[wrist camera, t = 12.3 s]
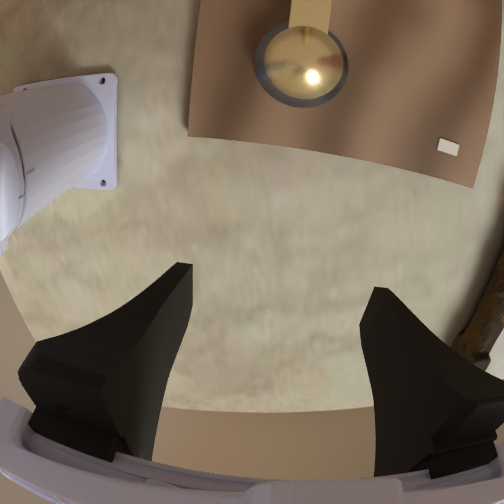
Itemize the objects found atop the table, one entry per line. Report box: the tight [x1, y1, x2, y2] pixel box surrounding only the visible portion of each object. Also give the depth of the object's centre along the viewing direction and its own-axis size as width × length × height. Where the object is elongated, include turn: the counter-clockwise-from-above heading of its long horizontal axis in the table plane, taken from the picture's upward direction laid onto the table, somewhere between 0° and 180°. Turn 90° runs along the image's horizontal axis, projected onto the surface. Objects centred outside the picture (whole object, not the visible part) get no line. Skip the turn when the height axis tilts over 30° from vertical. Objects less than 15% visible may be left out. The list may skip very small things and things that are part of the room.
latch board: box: [188, 0, 502, 188], centre depth 14 cm, size 19×17×1 cm
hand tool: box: [451, 247, 504, 371], centre depth 22 cm, size 19×4×5 cm, turn 175°
